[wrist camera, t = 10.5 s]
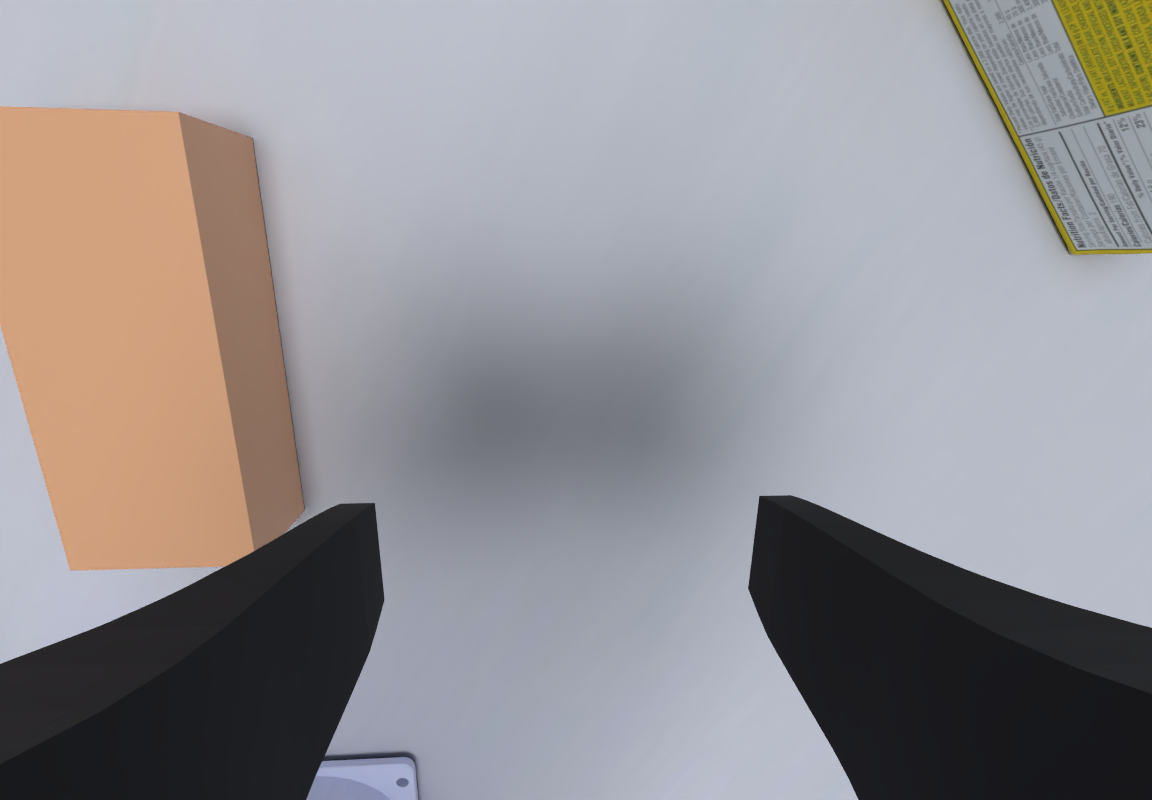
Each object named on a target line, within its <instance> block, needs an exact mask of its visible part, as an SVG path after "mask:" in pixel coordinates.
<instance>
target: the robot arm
mask: <svg viewBox="0 0 1152 800" xmlns="http://www.w3.org/2000/svg"><path fill="white" fill-rule="evenodd" d="M748 589H749V592H750V594H751V597H752V599H753V602H754V604H755V607H756V610H757V612H758V615H759V617H760V619H761V622H762V624H763V626H764V629H765V631H766V633H767V636H768V638H769V639H770V641H771V643H772V645H773V647H774V648H775V650H776V652H777V654H778V655H779V657H780V659H781V661H782V662H783V664H784V666H785V668H786V669H787V671H788V673H789V675H790V676H791V678H792V680H793V681H794V683H795V685H796V687H797V688H798V690H799V692H800V693H801V695H802V697H803V699H804V700H805V702H806V704H807V705H808V707H809V709H810V711H811V712H812V714H813V716H814V717H815V719H816V721H817V723H818V724H819V726H820V728H821V729H822V731H823V733H824V734H825V736H826V738H827V740H828V741H829V743H830V745H831V746H832V748H833V750H834V752H835V754H836V756H837V757H838V759H839V761H840V763H841V765H842V767H843V769H844V771H845V772H846V774H847V776H848V778H849V780H850V782H851V784H852V787H853V789H854V791H855V793H856V795H857V797H858V799H859V800H1152V628H1150V627H1146V626H1142V625H1138V624H1135V623H1131V622H1128V621H1124V620H1120V619H1117V618H1113V617H1110V616H1106V615H1103V614H1099V613H1096V612H1092V611H1088V610H1085V609H1081V608H1078V607H1074V606H1071V605H1068V604H1065V603H1061V602H1058V601H1055V600H1052V599H1048V598H1045V597H1042V596H1039V595H1036V594H1033V593H1030V592H1027V591H1024V590H1021V589H1019V588H1016V587H1013V586H1010V585H1007V584H1004V583H1001V582H998V581H995V580H992V579H989V578H987V577H984V576H981V575H979V574H976V573H973V572H971V571H968V570H965V569H963V568H960V567H958V566H955V565H953V564H951V563H948V562H946V561H943V560H941V559H938V558H936V557H933V556H931V555H929V554H926V553H924V552H921V551H919V550H917V549H914V548H912V547H910V546H907V545H905V544H903V543H901V542H898V541H896V540H894V539H892V538H889V537H887V536H885V535H883V534H881V533H878V532H876V531H874V530H872V529H870V528H867V527H865V526H863V525H861V524H859V523H856V522H854V521H852V520H850V519H848V518H846V517H843V516H841V515H839V514H837V513H835V512H832V511H830V510H828V509H826V508H823V507H821V506H819V505H816V504H814V503H811V502H809V501H806V500H803V499H801V498H797V497H794V496H791V495H790V496H759V505H758V513H757V521H756V529H755V538H754V546H753V554H752V562H751V571H750V579H749V587H748ZM383 603H384V592H383V582H382V571H381V561H380V551H379V541H378V531H377V521H376V511H375V503H357V504H339V505H336V506H334V507H332V508H330V509H328V510H326V511H324V512H322V513H320V514H318V515H316V516H314V517H313V518H311V519H309V520H307V521H306V522H304V523H302V524H300V525H299V526H297V527H295V528H293V529H292V530H290V531H288V532H286V533H285V534H283V535H281V536H279V537H278V538H276V539H274V540H272V541H271V542H269V543H267V544H265V545H264V546H262V547H260V548H258V549H257V550H255V551H253V552H251V553H250V554H248V555H246V556H244V557H242V558H240V559H238V560H237V561H235V562H233V563H231V564H229V565H227V566H225V567H223V568H221V569H220V570H218V571H216V572H214V573H212V574H210V575H208V576H206V577H204V578H203V579H201V580H199V581H197V582H195V583H193V584H191V585H189V586H187V587H185V588H183V589H181V590H179V591H177V592H175V593H173V594H171V595H169V596H167V597H164V598H162V599H160V600H158V601H156V602H154V603H152V604H149V605H147V606H145V607H143V608H140V609H138V610H136V611H133V612H131V613H129V614H127V615H124V616H122V617H120V618H118V619H115V620H113V621H111V622H108V623H106V624H104V625H101V626H99V627H96V628H94V629H91V630H89V631H86V632H84V633H81V634H78V635H76V636H73V637H70V638H68V639H65V640H62V641H60V642H57V643H54V644H52V645H49V646H47V647H44V648H41V649H39V650H36V651H33V652H31V653H28V654H25V655H23V656H20V657H17V658H15V659H12V660H9V661H7V662H4V663H2V664H0V800H418V791H417V780H416V769H415V763H414V762H413V761H412V760H411V759H410V758H407V757H394V758H374V759H355V760H335V761H322V760H323V758H324V756H325V754H326V751H327V749H328V747H329V744H330V742H331V740H332V738H333V735H334V733H335V731H336V728H337V726H338V724H339V722H340V719H341V717H342V715H343V712H344V710H345V708H346V706H347V703H348V701H349V699H350V696H351V694H352V692H353V689H354V687H355V685H356V682H357V680H358V678H359V675H360V673H361V671H362V668H363V666H364V664H365V661H366V659H367V656H368V654H369V652H370V649H371V645H372V642H373V639H374V635H375V632H376V629H377V625H378V621H379V618H380V614H381V610H382V606H383Z"/></svg>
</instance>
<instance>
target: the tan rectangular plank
mask: <svg viewBox="0 0 1152 800" xmlns="http://www.w3.org/2000/svg"><path fill="white" fill-rule="evenodd" d="M0 325H1V329H2V332H3V336H4V339H5V343H6V346H7V350H8V353H9V357H10V360H11V364H12V368H13V371H14V375H15V378H16V382H17V385H18V389H19V392H20V396H21V399H22V403H23V406H24V410H25V413H26V417H27V420H28V424H29V427H30V431H31V434H32V438H33V441H34V445H35V448H36V452H37V455H38V459H39V462H40V466H41V469H42V473H43V476H44V480H45V483H46V487H47V490H48V494H49V497H50V501H51V504H52V508H53V511H54V515H55V518H56V522H57V525H58V529H59V532H60V536H61V539H62V543H63V546H64V550H65V553H66V557H67V560H68V564H69V567H70V570H106V569H144V568H182V567H220V566H227V565H229V564H231V563H233V562H235V561H237V560H238V559H240V558H242V557H244V556H246V555H248V554H250V553H251V552H253V551H255V550H257V549H258V548H260V547H262V546H264V545H265V544H267V543H269V542H271V541H272V540H274V539H276V538H278V537H279V536H281V535H283V534H284V533H285V532H286V531H287V530H288V529H289V527H290V526H291V525H292V524H293V523H294V521H295V520H296V519H297V518H298V517H299V516H300V514H301V513H302V512H303V511H304V503H303V496H302V489H301V482H300V475H299V467H298V460H297V453H296V446H295V439H294V432H293V425H292V418H291V410H290V403H289V396H288V389H287V382H286V375H285V368H284V361H283V353H282V346H281V339H280V332H279V325H278V318H277V311H276V304H275V296H274V289H273V282H272V275H271V268H270V261H269V254H268V246H267V239H266V232H265V225H264V218H263V211H262V204H261V197H260V189H259V182H258V175H257V168H256V161H255V154H254V147H253V140H252V138H250V137H248V136H245V135H242V134H239V133H236V132H233V131H231V130H228V129H225V128H222V127H219V126H217V125H214V124H211V123H208V122H205V121H202V120H200V119H197V118H194V117H191V116H188V115H185V114H183V113H180V112H164V111H131V110H98V109H65V108H32V107H0Z"/></svg>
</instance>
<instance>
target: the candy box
mask: <svg viewBox="0 0 1152 800" xmlns="http://www.w3.org/2000/svg"><path fill="white" fill-rule="evenodd" d="M943 1H944V3H945V5H946V7H947V9H948V11H949V13H950V15H951V17H952V19H953V21H954V23H955V25H956V27H957V29H958V31H959V33H960V35H961V37H962V39H963V41H964V43H965V45H966V47H967V49H968V51H969V53H970V55H971V57H972V59H973V61H974V63H975V65H976V67H977V69H978V71H979V73H980V75H981V77H982V79H983V81H984V83H985V84H986V86H987V88H988V90H989V92H990V94H991V96H992V98H993V100H994V102H995V104H996V106H997V108H998V110H999V112H1000V114H1001V116H1002V118H1003V120H1004V122H1005V124H1006V126H1007V128H1008V130H1009V132H1010V134H1011V136H1012V138H1013V140H1014V142H1015V144H1016V145H1017V147H1018V149H1019V151H1020V153H1021V155H1022V157H1023V159H1024V161H1025V163H1026V165H1027V167H1028V169H1029V171H1030V173H1031V175H1032V177H1033V179H1034V181H1035V184H1036V186H1037V188H1038V190H1039V192H1040V194H1041V196H1042V197H1043V199H1044V201H1045V203H1046V205H1047V207H1048V209H1049V211H1050V213H1051V215H1052V217H1053V219H1054V221H1055V223H1056V225H1057V227H1058V229H1059V231H1060V233H1061V235H1062V237H1063V239H1064V241H1065V243H1066V245H1067V247H1068V252H1069V253H1071V254H1073V255H1087V254H1140V253H1152V0H943Z"/></svg>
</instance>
